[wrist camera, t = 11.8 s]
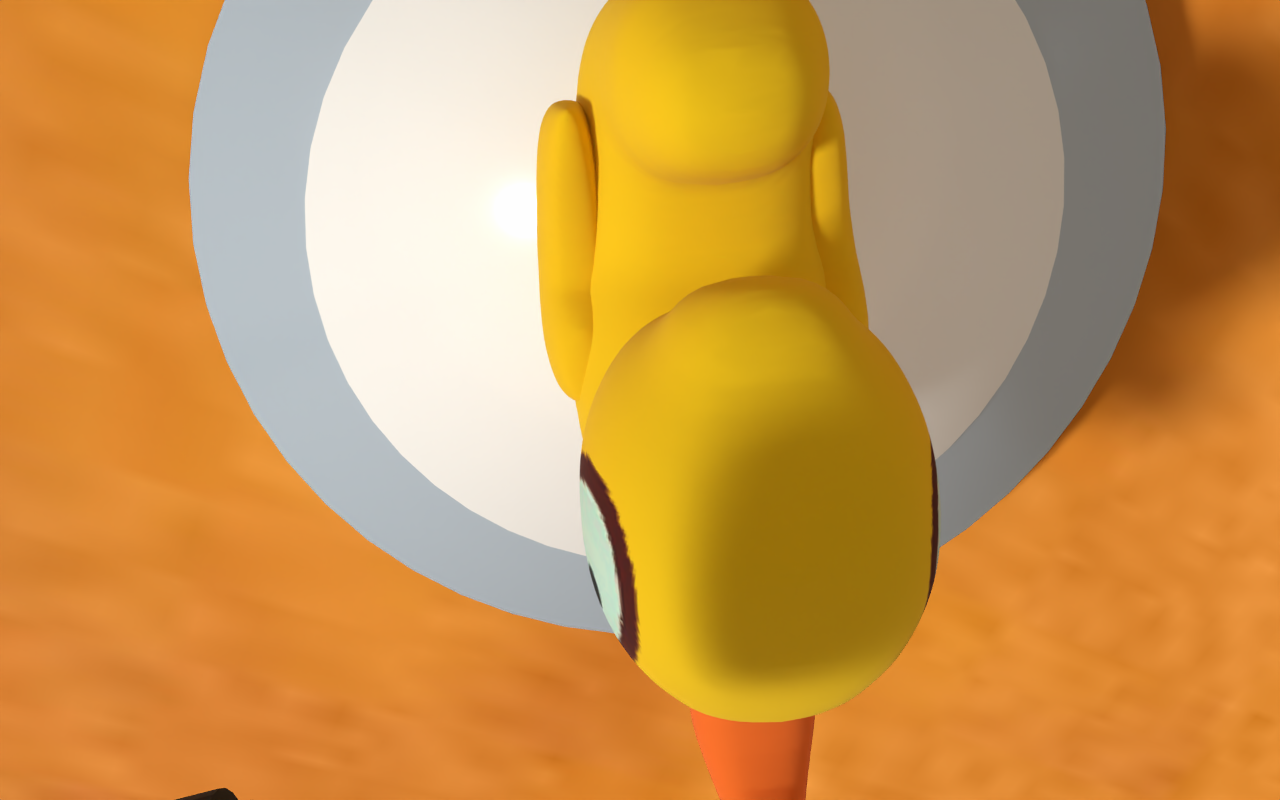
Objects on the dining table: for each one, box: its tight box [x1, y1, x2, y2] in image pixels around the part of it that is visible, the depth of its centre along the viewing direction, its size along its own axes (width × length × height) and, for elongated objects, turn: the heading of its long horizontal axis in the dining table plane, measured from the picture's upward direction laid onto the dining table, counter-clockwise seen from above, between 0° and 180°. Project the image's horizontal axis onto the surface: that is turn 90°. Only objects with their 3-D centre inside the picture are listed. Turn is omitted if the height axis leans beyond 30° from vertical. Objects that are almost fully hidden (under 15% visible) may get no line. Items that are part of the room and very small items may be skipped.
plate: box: [189, 0, 1166, 633], centre depth 22 cm, size 18×18×1 cm
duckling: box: [536, 0, 941, 800], centre depth 17 cm, size 11×5×10 cm, turn 3°
